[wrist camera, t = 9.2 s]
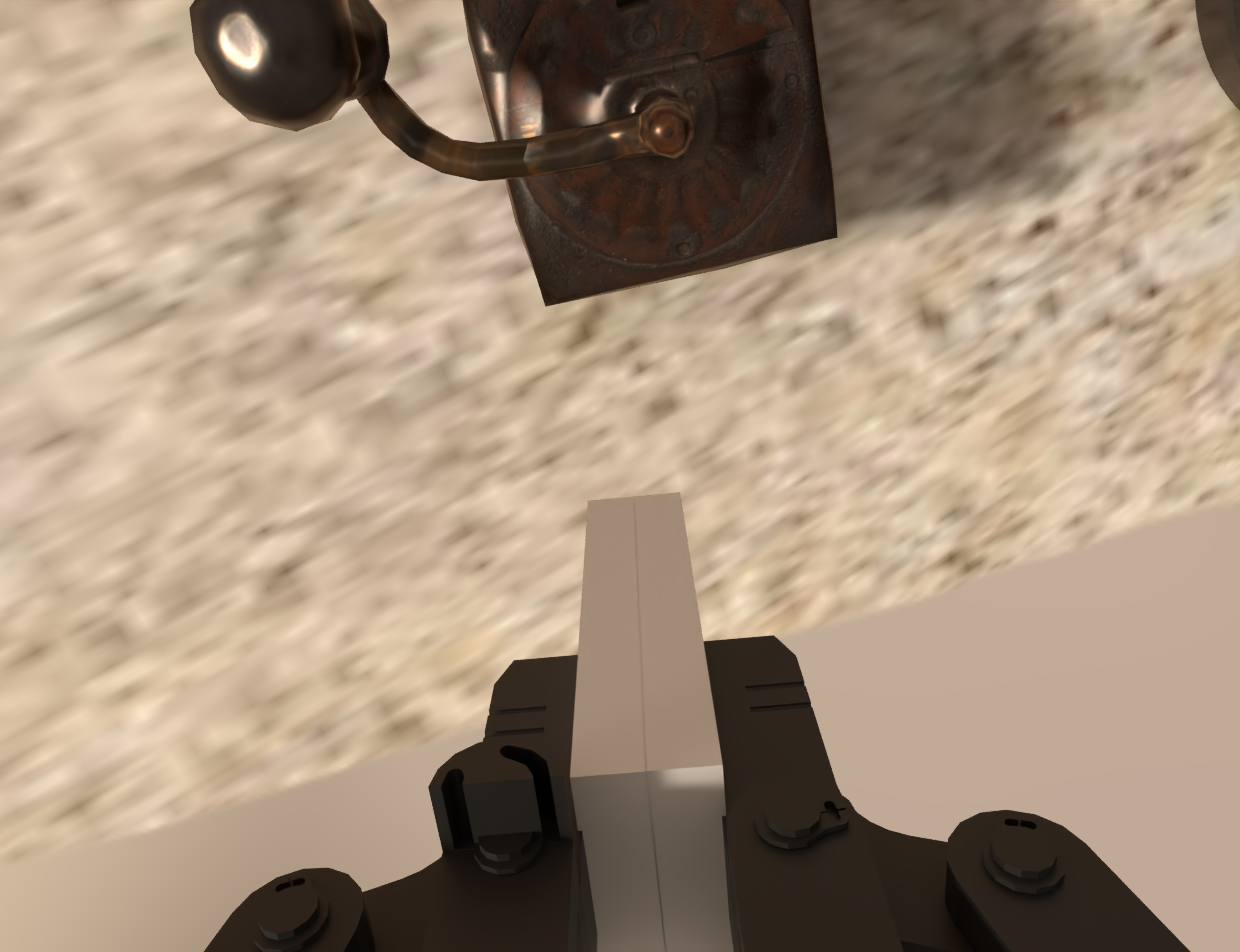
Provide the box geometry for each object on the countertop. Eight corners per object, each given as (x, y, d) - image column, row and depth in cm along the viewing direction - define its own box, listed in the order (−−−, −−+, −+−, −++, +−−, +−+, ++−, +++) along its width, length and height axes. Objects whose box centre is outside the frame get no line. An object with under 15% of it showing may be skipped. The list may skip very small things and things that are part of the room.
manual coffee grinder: (753, -95, 35) (875, -257, 18) (800, 206, 39) (934, 299, 22) (355, 12, 36) (129, -47, 19) (441, 291, 40) (316, 439, 24)
